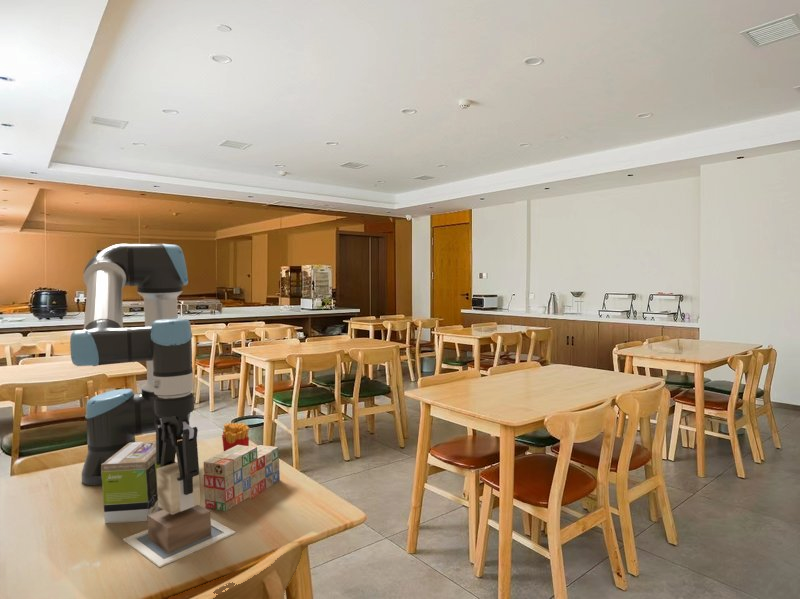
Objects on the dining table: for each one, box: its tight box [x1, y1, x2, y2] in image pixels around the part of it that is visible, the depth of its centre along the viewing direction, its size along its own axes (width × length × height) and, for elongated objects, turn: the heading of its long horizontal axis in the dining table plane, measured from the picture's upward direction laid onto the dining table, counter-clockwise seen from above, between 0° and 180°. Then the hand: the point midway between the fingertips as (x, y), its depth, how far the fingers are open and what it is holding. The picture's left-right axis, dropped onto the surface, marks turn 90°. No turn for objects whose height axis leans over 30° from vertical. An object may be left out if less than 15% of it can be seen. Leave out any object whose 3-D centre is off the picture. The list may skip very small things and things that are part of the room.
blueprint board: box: [123, 518, 236, 569], centre depth 107 cm, size 16×16×1 cm
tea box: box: [101, 440, 161, 524], centre depth 121 cm, size 15×10×15 cm
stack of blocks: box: [203, 444, 281, 512], centre depth 129 cm, size 21×6×12 cm, turn 158°
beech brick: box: [156, 461, 201, 515], centre depth 106 cm, size 6×6×8 cm
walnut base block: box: [147, 504, 212, 553], centre depth 107 cm, size 9×9×5 cm
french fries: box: [221, 422, 250, 452], centre depth 146 cm, size 9×4×13 cm, turn 60°
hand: (178, 503), depth 106 cm, fingers closed on beech brick, 6 cm apart
